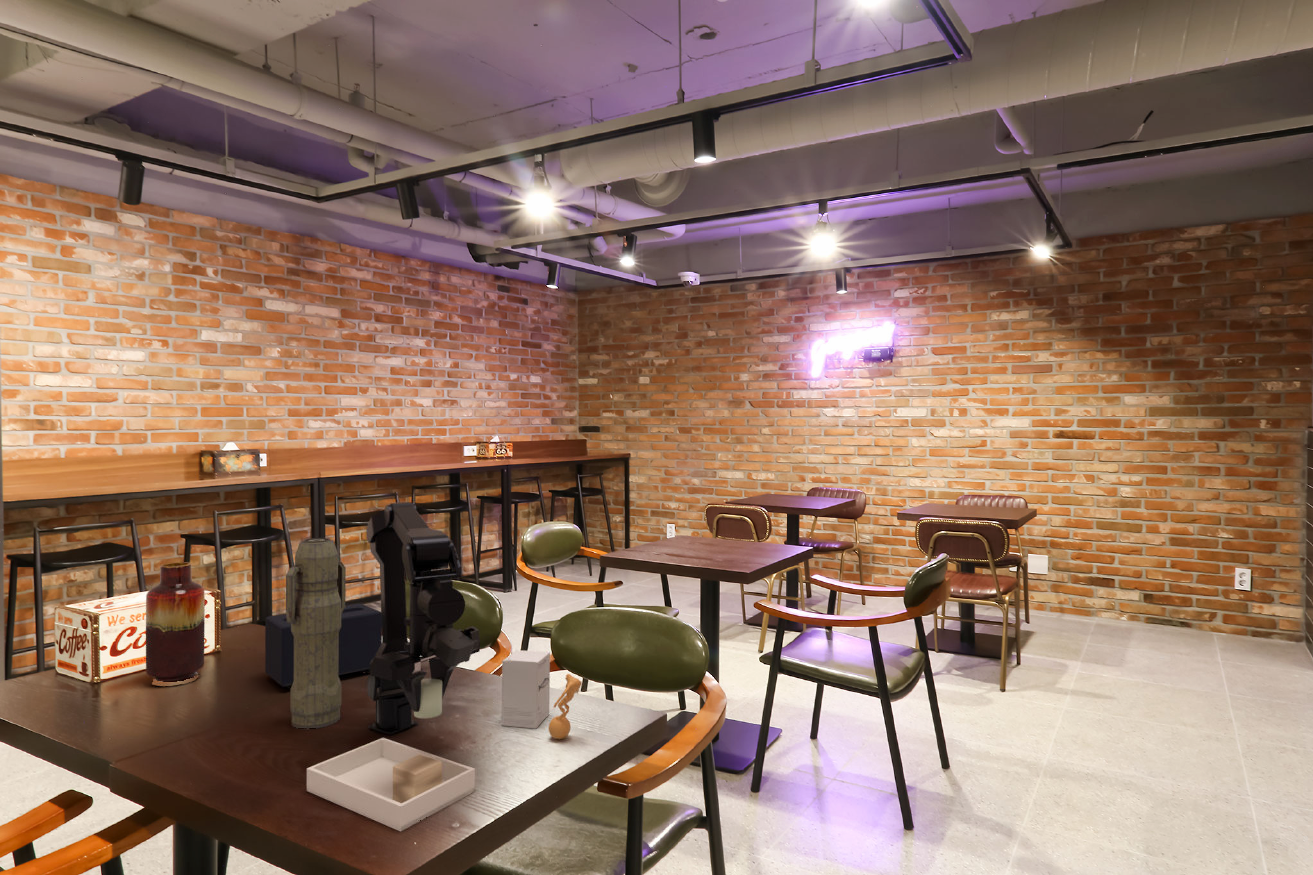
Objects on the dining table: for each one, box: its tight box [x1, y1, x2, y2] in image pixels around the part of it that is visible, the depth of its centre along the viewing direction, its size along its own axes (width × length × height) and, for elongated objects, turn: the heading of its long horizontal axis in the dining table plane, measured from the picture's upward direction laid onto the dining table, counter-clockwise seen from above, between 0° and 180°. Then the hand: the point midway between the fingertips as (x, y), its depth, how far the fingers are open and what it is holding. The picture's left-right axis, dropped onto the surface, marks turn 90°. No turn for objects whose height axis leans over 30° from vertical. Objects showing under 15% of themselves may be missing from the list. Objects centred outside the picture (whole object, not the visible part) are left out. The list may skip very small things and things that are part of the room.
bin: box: [306, 737, 476, 833], centre depth 115 cm, size 22×14×4 cm, turn 58°
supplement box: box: [501, 650, 551, 729], centre depth 144 cm, size 7×7×13 cm
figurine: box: [548, 673, 582, 740], centre depth 136 cm, size 8×6×12 cm
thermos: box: [285, 537, 347, 730], centre depth 144 cm, size 9×12×35 cm
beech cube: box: [393, 755, 442, 803], centre depth 112 cm, size 5×5×5 cm
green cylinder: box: [413, 677, 443, 719], centre depth 122 cm, size 4×4×5 cm
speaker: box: [264, 602, 382, 689], centre depth 171 cm, size 22×13×15 cm, turn 133°
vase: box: [145, 561, 206, 682], centre depth 167 cm, size 11×11×26 cm
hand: (427, 706), depth 122 cm, fingers closed on green cylinder, 4 cm apart
